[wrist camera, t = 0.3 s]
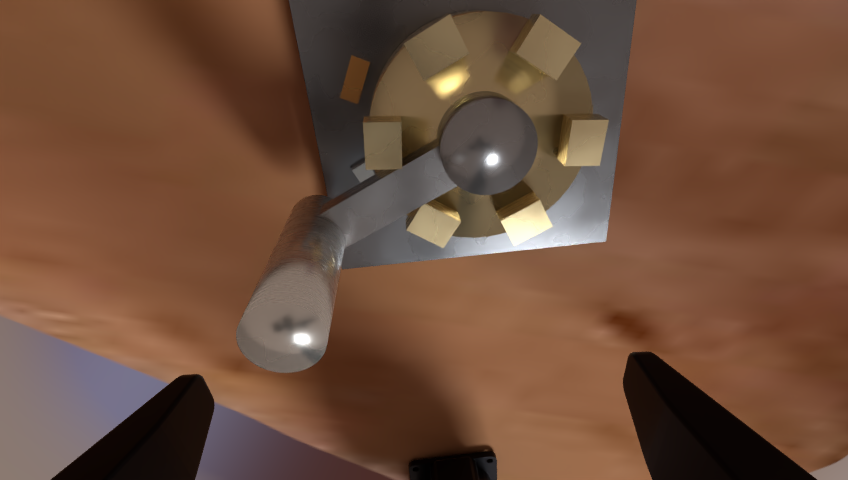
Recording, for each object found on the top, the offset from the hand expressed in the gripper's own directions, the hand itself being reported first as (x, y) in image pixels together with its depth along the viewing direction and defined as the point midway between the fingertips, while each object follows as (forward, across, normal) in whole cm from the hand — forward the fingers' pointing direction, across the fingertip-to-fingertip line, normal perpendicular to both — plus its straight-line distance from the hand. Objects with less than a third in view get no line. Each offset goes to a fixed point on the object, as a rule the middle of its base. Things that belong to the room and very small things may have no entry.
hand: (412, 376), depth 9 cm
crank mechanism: (+13, 0, 0) cm, 13 cm away
